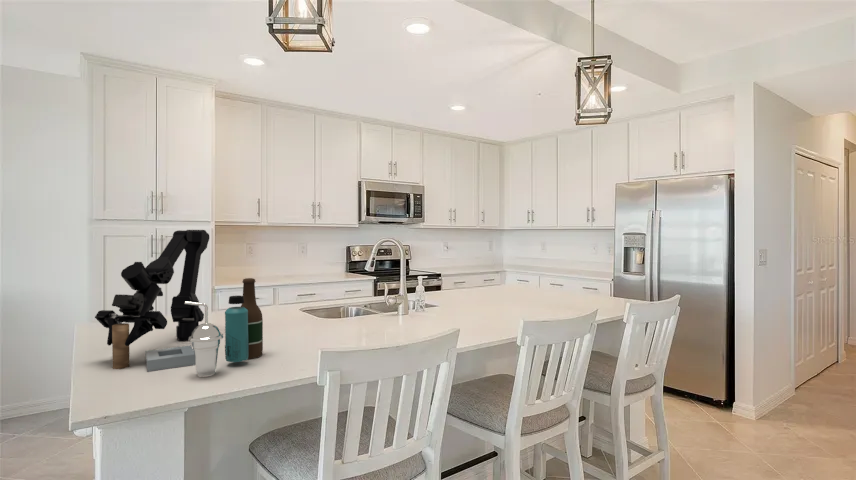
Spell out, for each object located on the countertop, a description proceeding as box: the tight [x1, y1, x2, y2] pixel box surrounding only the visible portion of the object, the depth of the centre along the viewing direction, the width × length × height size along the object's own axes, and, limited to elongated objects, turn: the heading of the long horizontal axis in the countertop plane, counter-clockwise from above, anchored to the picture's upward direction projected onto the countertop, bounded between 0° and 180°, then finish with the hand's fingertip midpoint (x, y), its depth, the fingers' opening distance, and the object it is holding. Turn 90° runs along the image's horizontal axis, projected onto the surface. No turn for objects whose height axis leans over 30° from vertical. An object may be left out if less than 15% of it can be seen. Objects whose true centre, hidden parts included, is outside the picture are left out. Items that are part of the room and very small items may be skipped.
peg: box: [111, 322, 131, 370], centre depth 131 cm, size 4×4×12 cm
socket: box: [144, 344, 196, 373], centre depth 135 cm, size 12×12×3 cm
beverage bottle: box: [224, 295, 249, 363], centre depth 134 cm, size 6×7×20 cm
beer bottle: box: [240, 277, 264, 360], centre depth 142 cm, size 8×8×24 cm
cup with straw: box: [185, 301, 224, 378], centre depth 125 cm, size 8×9×20 cm
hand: (117, 345), depth 129 cm, fingers open, 5 cm apart
